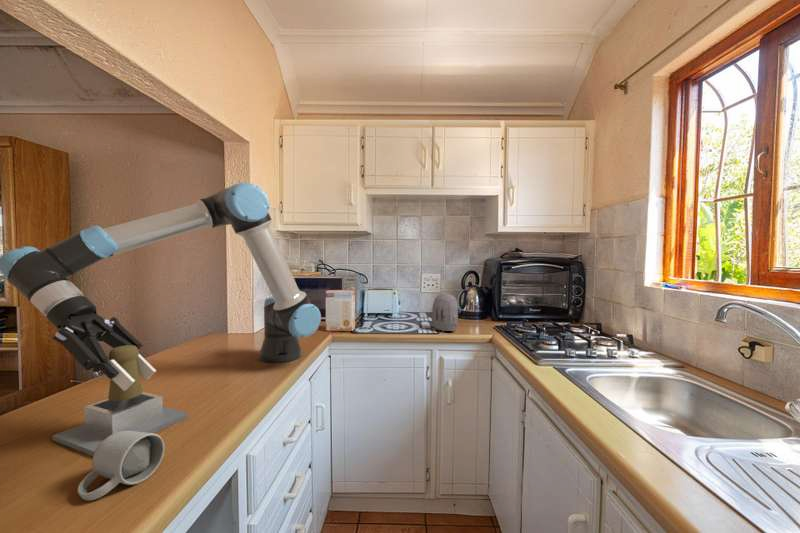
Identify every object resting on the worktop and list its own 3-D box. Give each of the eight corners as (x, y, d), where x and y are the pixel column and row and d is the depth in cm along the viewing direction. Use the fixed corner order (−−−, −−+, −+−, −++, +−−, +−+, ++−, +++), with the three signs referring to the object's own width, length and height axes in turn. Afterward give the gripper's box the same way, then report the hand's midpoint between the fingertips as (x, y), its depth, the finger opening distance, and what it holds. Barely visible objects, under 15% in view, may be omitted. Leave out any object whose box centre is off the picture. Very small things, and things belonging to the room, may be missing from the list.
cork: (115, 391, 78) (113, 344, 78) (146, 387, 80) (145, 341, 80) (102, 402, 73) (100, 351, 72) (136, 398, 75) (134, 349, 74)
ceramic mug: (133, 459, 65) (131, 419, 64) (166, 467, 62) (164, 426, 62) (64, 498, 55) (62, 451, 54) (100, 509, 52) (98, 460, 52)
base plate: (145, 405, 88) (145, 401, 88) (188, 417, 82) (188, 413, 82) (52, 440, 71) (52, 435, 71) (97, 458, 65) (97, 453, 65)
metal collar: (135, 410, 83) (135, 389, 83) (162, 417, 79) (162, 396, 79) (84, 429, 74) (84, 406, 73) (112, 439, 70) (112, 415, 70)
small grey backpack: (460, 332, 174) (461, 293, 174) (450, 335, 168) (451, 294, 168) (437, 327, 185) (438, 291, 184) (427, 330, 179) (427, 292, 179)
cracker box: (355, 330, 178) (355, 290, 178) (352, 332, 172) (352, 291, 172) (329, 329, 180) (329, 289, 179) (325, 331, 174) (325, 290, 173)
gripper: (92, 311, 85) (159, 377, 85) (5, 326, 66) (91, 411, 67) (113, 290, 85) (179, 356, 85) (31, 299, 66) (117, 384, 67)
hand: (140, 380), depth 76 cm, fingers open, 6 cm apart
